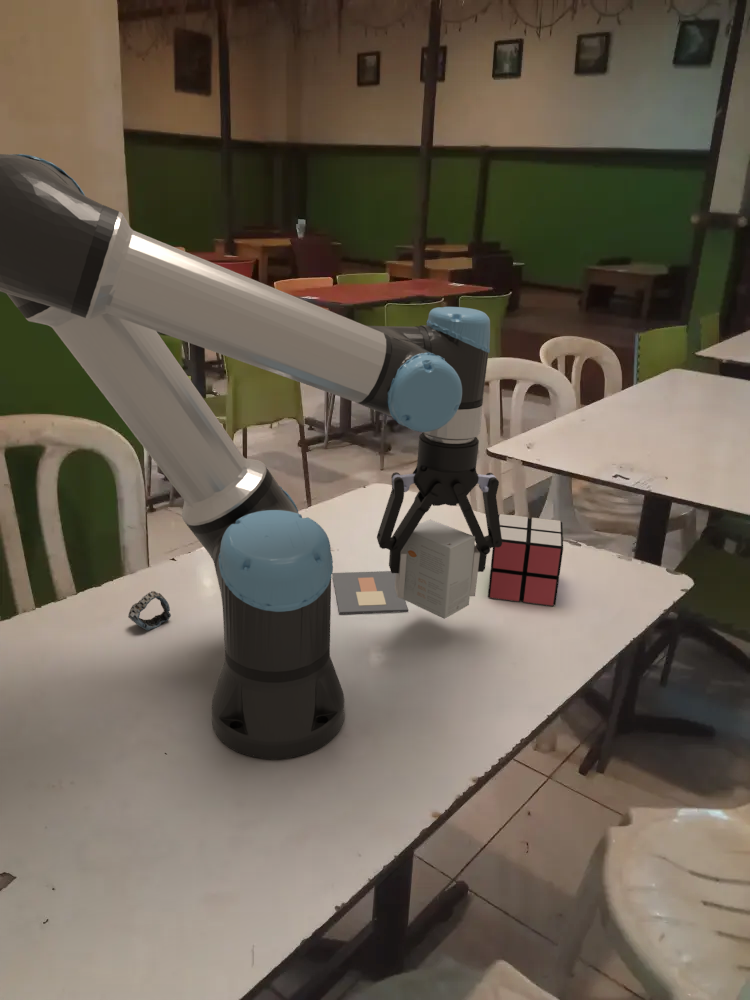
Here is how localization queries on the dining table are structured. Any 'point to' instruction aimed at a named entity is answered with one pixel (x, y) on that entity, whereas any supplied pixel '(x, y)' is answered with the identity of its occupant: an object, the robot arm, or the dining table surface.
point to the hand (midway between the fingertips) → (434, 592)
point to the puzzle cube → (527, 560)
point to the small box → (438, 568)
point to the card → (367, 593)
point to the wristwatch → (142, 605)
